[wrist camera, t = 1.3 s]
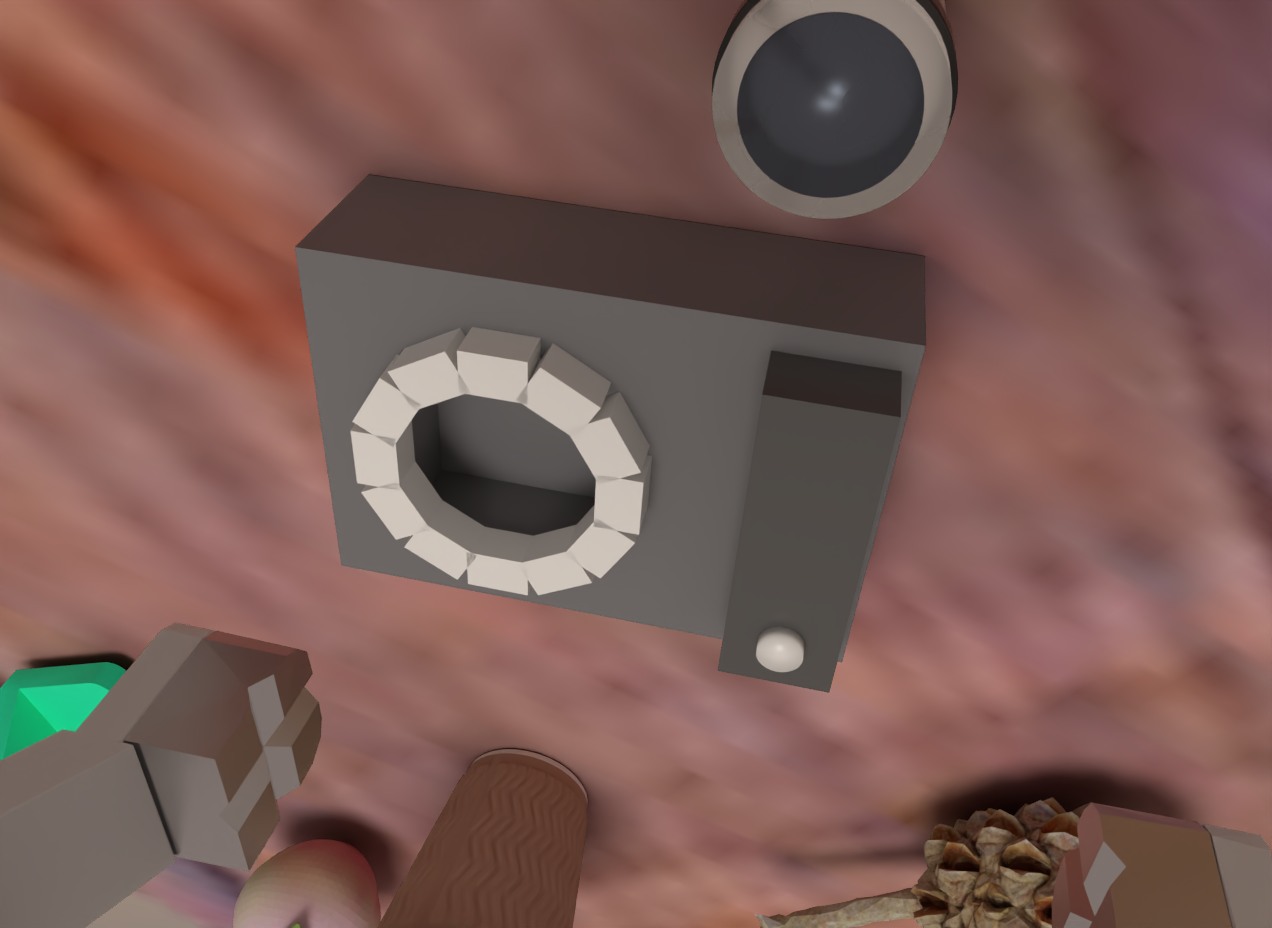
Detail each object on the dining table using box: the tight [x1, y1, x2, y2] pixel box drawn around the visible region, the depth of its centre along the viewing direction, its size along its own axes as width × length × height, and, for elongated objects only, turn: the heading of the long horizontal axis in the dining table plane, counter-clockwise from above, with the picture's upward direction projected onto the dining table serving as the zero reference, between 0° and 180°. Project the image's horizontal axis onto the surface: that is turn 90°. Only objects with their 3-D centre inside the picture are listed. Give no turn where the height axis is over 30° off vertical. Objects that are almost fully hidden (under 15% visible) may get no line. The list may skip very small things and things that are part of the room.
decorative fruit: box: [233, 839, 381, 928], centre depth 64 cm, size 9×8×10 cm
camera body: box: [295, 175, 926, 692], centre depth 39 cm, size 14×20×9 cm
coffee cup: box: [377, 749, 588, 928], centre depth 56 cm, size 10×10×12 cm
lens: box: [712, 0, 958, 219], centre depth 29 cm, size 6×6×10 cm
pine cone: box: [755, 797, 1093, 928], centre depth 51 cm, size 22×10×10 cm, turn 122°
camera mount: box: [0, 662, 126, 760], centre depth 61 cm, size 12×8×10 cm, turn 18°
